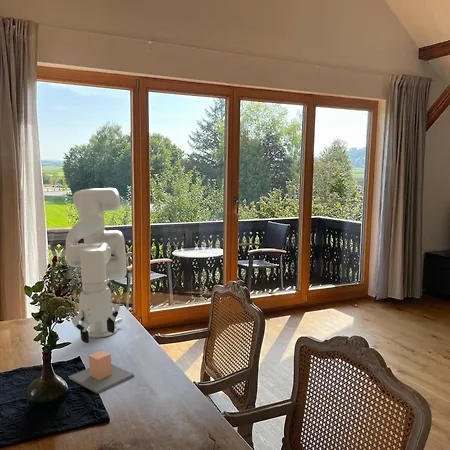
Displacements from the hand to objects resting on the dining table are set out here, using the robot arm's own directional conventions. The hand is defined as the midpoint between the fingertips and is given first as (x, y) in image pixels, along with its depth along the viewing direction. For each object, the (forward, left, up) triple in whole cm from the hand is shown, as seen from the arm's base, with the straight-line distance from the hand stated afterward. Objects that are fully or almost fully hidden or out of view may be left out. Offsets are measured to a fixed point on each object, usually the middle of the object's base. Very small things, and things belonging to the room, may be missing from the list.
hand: (98, 336), depth 147 cm
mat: (0, +1, -14) cm, 14 cm away
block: (0, +1, -13) cm, 13 cm away
